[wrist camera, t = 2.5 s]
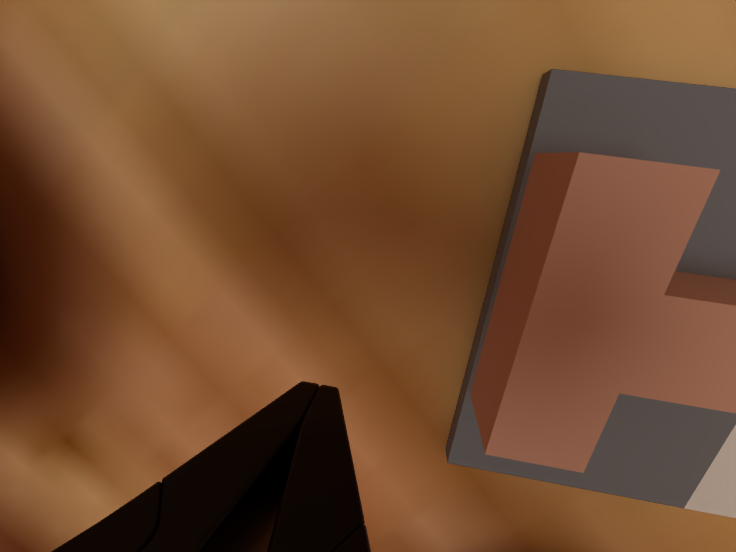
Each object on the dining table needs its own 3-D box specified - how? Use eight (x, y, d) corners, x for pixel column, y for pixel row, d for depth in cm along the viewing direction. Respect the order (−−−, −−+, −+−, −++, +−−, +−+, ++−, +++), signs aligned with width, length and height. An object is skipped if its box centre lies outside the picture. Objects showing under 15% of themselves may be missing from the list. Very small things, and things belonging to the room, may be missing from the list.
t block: (710, 435, 17) (792, 512, 14) (469, 392, 18) (484, 454, 14) (854, 193, 13) (1029, 207, 9) (534, 152, 14) (579, 152, 10)
